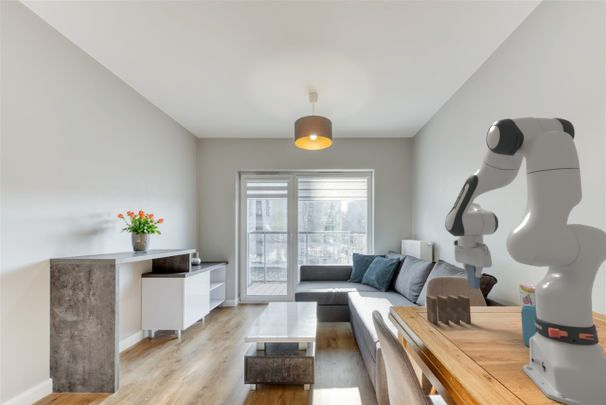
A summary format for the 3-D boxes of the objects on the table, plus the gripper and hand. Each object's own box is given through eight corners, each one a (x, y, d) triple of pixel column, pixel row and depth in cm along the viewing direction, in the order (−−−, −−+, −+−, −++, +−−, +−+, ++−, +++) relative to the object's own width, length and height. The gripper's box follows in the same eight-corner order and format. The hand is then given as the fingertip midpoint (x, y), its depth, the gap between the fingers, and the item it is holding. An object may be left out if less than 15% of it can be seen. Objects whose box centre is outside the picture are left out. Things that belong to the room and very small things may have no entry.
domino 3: (453, 319, 125) (452, 295, 126) (460, 323, 120) (458, 298, 121) (448, 319, 125) (447, 295, 126) (455, 323, 120) (453, 298, 121)
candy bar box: (521, 328, 113) (518, 284, 115) (536, 329, 112) (533, 284, 114) (538, 339, 102) (534, 290, 104) (555, 340, 101) (551, 290, 103)
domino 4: (463, 319, 125) (462, 295, 126) (471, 323, 120) (469, 297, 121) (459, 319, 125) (457, 295, 126) (466, 323, 120) (464, 297, 121)
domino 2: (442, 320, 125) (441, 295, 125) (449, 323, 120) (447, 298, 121) (438, 320, 125) (436, 295, 125) (444, 323, 120) (442, 298, 120)
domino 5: (472, 286, 126) (471, 262, 127) (479, 288, 121) (478, 263, 122) (467, 286, 126) (466, 262, 127) (475, 288, 121) (473, 263, 122)
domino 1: (432, 320, 124) (431, 295, 125) (437, 324, 119) (436, 298, 120) (427, 320, 124) (426, 295, 125) (433, 324, 119) (431, 298, 120)
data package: (571, 350, 93) (568, 310, 94) (573, 355, 90) (569, 313, 91) (524, 341, 101) (521, 304, 102) (523, 345, 97) (520, 307, 98)
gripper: (495, 243, 115) (497, 280, 114) (464, 241, 135) (466, 272, 134) (479, 243, 115) (481, 280, 114) (451, 241, 135) (452, 272, 134)
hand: (473, 276), depth 124 cm, fingers closed on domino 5, 5 cm apart
